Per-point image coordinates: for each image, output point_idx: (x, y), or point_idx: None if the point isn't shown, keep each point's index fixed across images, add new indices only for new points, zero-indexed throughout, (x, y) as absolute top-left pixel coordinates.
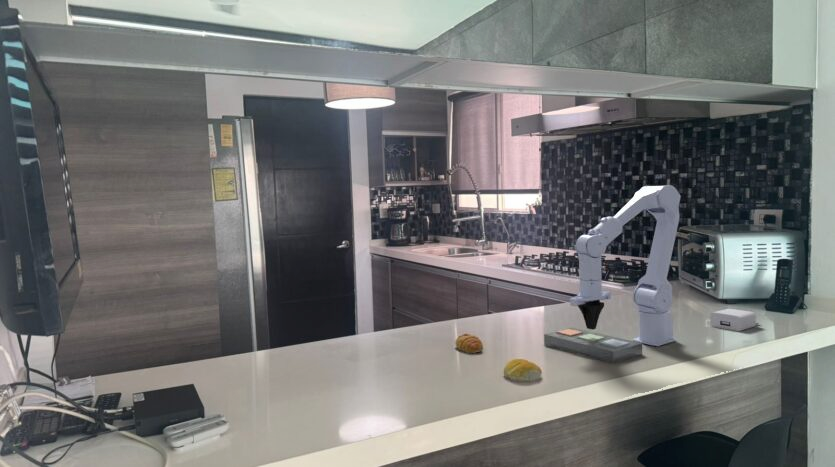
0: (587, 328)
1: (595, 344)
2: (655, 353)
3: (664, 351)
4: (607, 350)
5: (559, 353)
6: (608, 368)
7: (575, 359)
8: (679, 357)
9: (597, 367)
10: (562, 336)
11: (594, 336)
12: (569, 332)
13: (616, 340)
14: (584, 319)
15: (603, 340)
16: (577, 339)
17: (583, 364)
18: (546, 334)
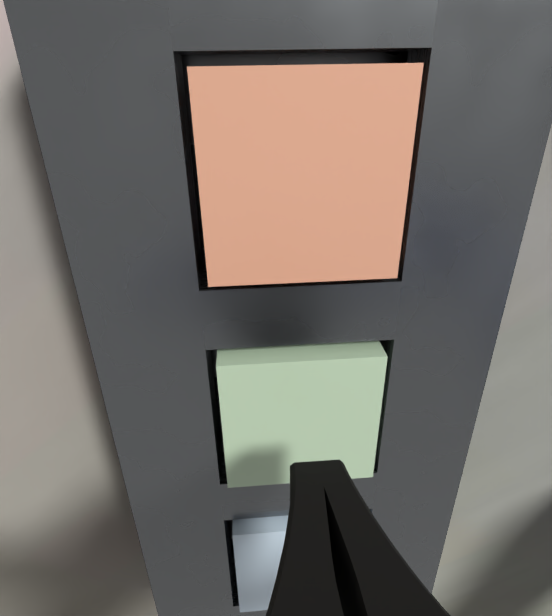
0: (290, 470)
1: (190, 521)
2: (465, 554)
3: (524, 554)
4: (157, 604)
5: (17, 309)
6: (93, 588)
7: (36, 446)
8: (469, 613)
9: (55, 565)
10: (138, 230)
11: (335, 431)
12: (284, 204)
13: None
14: (285, 542)
15: None
16: (184, 381)
17: (19, 515)
18: (19, 23)
